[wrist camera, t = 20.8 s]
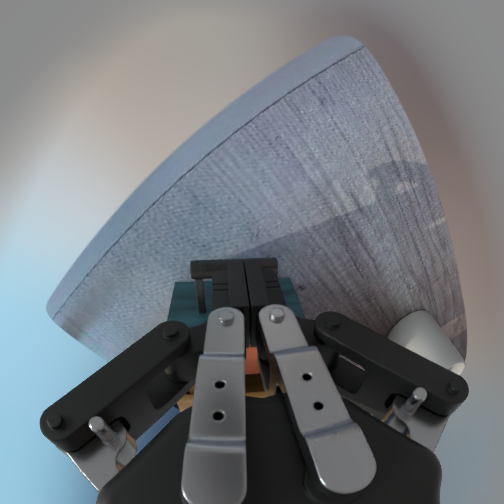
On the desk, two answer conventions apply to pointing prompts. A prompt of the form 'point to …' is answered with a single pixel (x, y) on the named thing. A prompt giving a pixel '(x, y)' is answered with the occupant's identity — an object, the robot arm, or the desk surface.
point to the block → (251, 361)
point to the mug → (427, 340)
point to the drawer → (200, 297)
